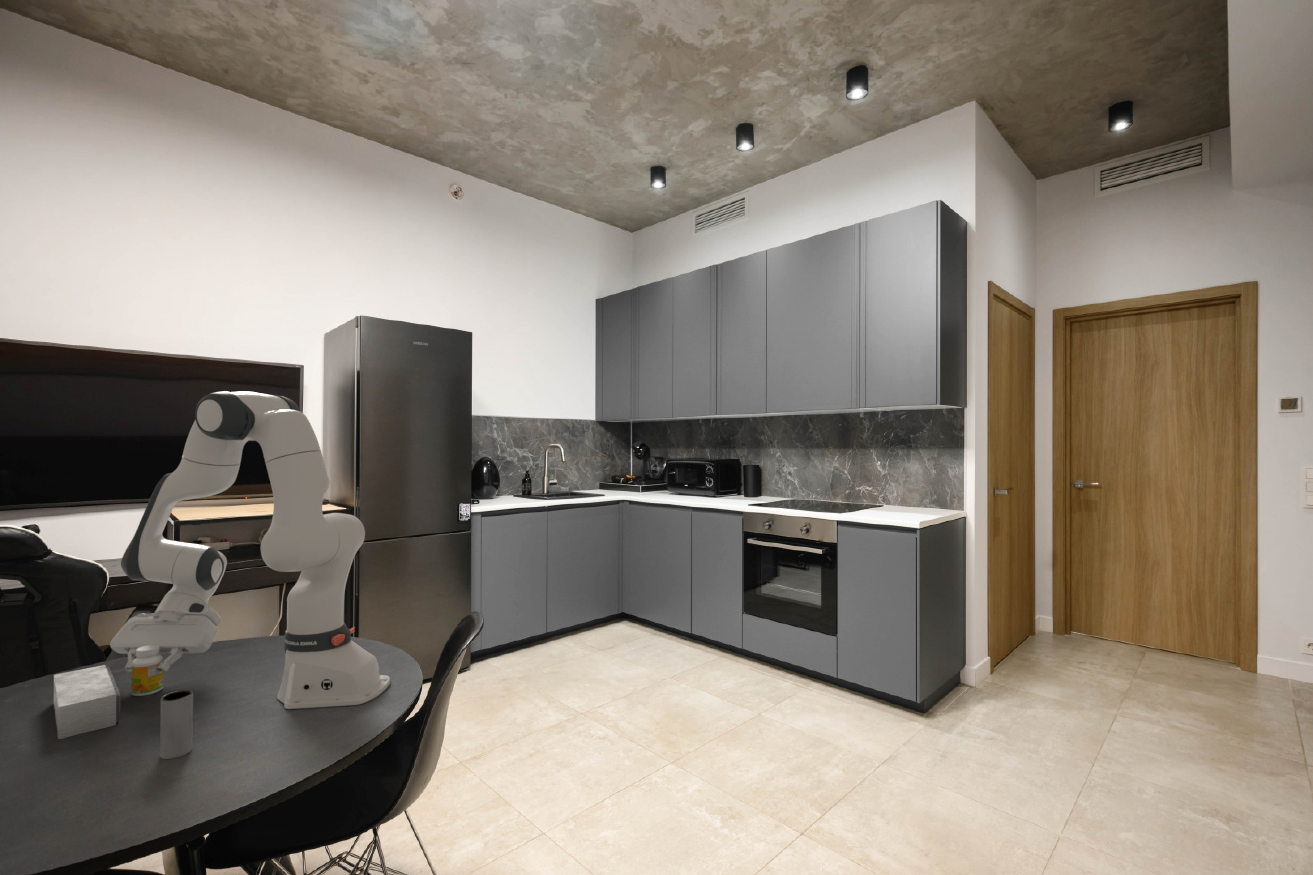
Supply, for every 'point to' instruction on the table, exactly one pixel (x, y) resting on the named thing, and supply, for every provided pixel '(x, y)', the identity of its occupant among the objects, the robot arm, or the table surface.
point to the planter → (176, 724)
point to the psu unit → (85, 701)
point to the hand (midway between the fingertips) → (145, 670)
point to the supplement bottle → (146, 671)
